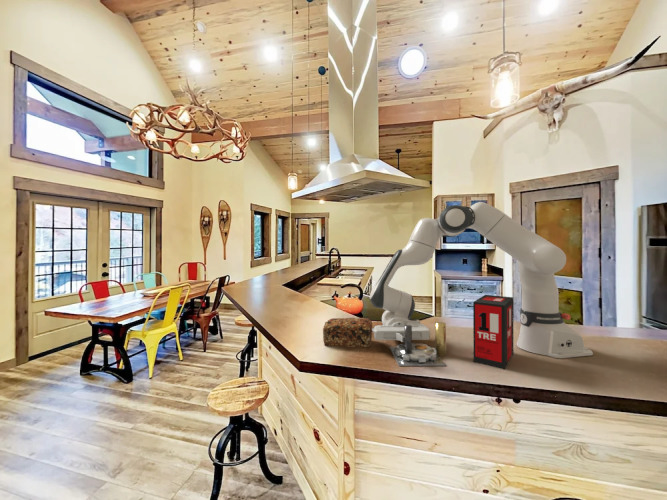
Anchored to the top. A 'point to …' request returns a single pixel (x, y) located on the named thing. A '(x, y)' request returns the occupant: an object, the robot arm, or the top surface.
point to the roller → (440, 338)
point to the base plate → (403, 362)
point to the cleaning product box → (493, 330)
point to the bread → (348, 332)
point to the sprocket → (414, 349)
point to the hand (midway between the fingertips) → (405, 339)
